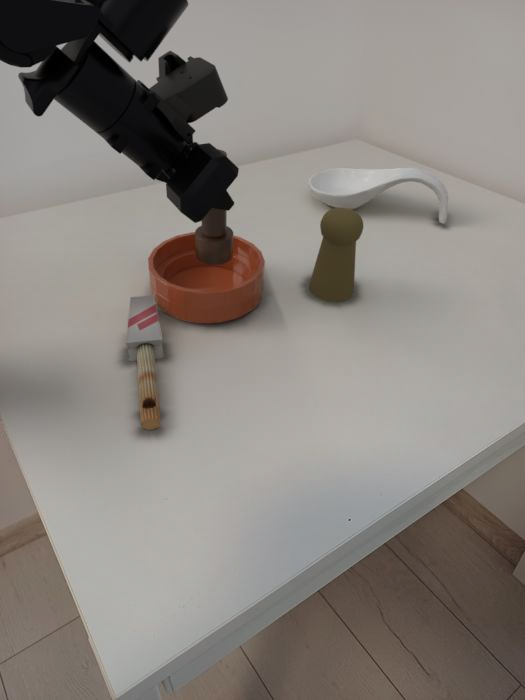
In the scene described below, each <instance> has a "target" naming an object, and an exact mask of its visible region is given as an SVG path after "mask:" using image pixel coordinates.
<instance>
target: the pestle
mask: <svg viewBox="0 0 525 700" xmlns="http://www.w3.org/2000/svg"><path fill="white" fill-rule="evenodd" d="M217 149H218V150H219V151H220V152H221V153H223V154H224V155H225V156H226V157H227V158H228V153H227V152H226V151H224V150H222V149H219V148H217ZM227 213H228V211H226V210H221V209H215V208H211V210H210V211H209V212H208V213H207V215H206V216H205V217H204V218H203V220H202V221H201V225H200V226H198V227H197V228H196V229H195V230H194V232H195V250H196V257H197V259H198V260H199V261H201V262H203V263H205V264H210V265H219V264H224V263H227V262H228V261H230V260H231V259H232V257H233V235H234V231H233V229H232V228H231V227H230V226H228V225H227V223H228V222H227V220H228V219H227V217H228V216H227V215H228V214H227Z"/></svg>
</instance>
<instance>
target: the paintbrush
mask: <svg viewBox="0 0 525 700" xmlns="http://www.w3.org/2000/svg"><path fill="white" fill-rule="evenodd" d="M127 320H128V321H127V332H126V347H127V355H128V362H137V380H138V395H139V396H138V398H139V413H140V414H139V415H140V416H139V417H140V426H141V428H142V429H144V430H147V431H151V430H156V429H157V428H160V426H161V424H162V418H161V410H160V401H159V399H160V398H159V389H158V379H157V368H156V359H163V358H164V357H165V356H164V349H163V341H164V340H163V334H162V329H161V325H160V319H159V314H158V310H157V304H156V303H155V299H154V295H152V294H150V295H140V296H130V299H129V309H128V319H127Z"/></svg>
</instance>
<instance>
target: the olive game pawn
mask: <svg viewBox="0 0 525 700" xmlns="http://www.w3.org/2000/svg"><path fill="white" fill-rule="evenodd" d="M319 225H320V234H321V236H322V239H321V243H320V246H319V250H318V253H317V255H316V256H317V257H316V259H315V263H314V267H313V270H312V274H311V277H310V281H309V284H308V290H309V292H310V293H311V294H312V295H313V297H315V298H316V299H319V300H321V301H324V302H329V303H340V302H345V301H348V300H350V299H351V298H352V297H353V295H354V293H355V277H356V276H355V272H356V252H357V251H356V250H357V241H358V240H359V239H360V238H361V236H362V233H363V232H364V231H363V230H364V220H363V218H362V216H361V215H360V214H359V213H358V212H356V211H355V210H354V209H353V210H350V209H346V208H331V209H329V210H328V211H325V213H324V214H323V215H322V218H321V220H320V224H319Z"/></svg>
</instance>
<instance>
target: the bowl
mask: <svg viewBox="0 0 525 700" xmlns="http://www.w3.org/2000/svg"><path fill="white" fill-rule="evenodd" d="M147 261H148V262H147V263H148V275H149V283H150V291H151V292H150V293H151V295H154V299H155V304H156V307H158V308H159V309H160V310H161V311H163V312H164V313H166V314H167V315H169V316H171V317H173V318H176V319H179V320H182V321H184V322H189V323H198V324H214V323H215V324H217V323H225V322H228V321H232V320H235V319H239V318H241V317H243V316H244V315H246V314H248V313H250V312H251V311H253V310H254V309H255V308H256V307H257V306H258V305H259V303H260V302H261V300H262V298H263V292H264V281H265V265H266V260H265V258H264V255H263V252H262V250H260V249H259V248H258V247H257V246H256V245H255V244H254V243H252V242H251V241H249V240H247V239H244V238H243V237H241V236H239V235H234V234H233V257H232V259H231V260H230V261H228V262H227V263H224V264H219V265H210V264H205V263H203V262H201V261H199V260H198V259H197V257H196V250H195V231H192V232H187V233H183V234H178V235H175V236H173V237H170V238H168V239H165V240H163V241H162V242H160V243H159V244H158V245H157V246H156V247H154V248H153V249H152V251H151V253H150V255H149V256H148V259H147Z"/></svg>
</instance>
